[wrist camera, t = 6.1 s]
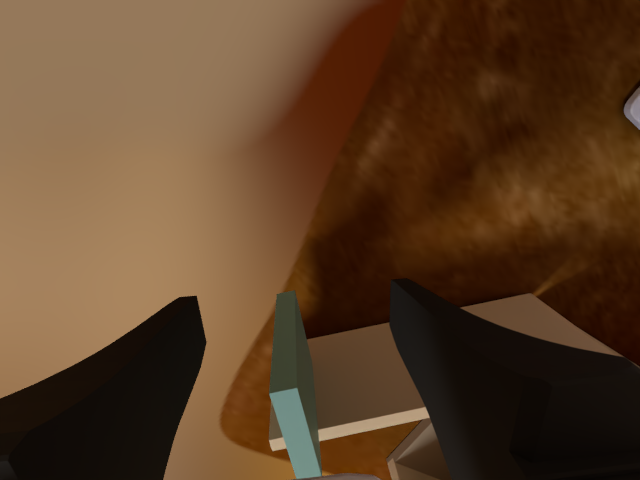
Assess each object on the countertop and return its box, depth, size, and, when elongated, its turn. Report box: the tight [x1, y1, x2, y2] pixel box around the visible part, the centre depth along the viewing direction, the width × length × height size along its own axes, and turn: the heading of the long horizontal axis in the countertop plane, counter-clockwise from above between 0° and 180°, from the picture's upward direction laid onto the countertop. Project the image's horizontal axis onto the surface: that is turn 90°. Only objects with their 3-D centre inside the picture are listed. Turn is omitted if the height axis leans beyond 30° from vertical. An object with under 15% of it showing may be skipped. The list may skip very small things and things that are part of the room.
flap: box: [269, 291, 614, 479], centre depth 13 cm, size 14×5×7 cm, turn 101°
